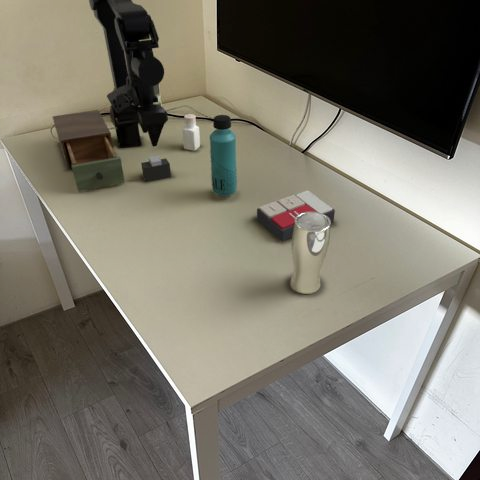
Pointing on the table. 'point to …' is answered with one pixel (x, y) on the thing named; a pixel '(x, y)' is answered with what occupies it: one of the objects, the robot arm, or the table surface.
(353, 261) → the table surface
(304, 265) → the beer glass
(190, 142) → the salt shaker
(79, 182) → the drawer
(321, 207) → the grey and red box
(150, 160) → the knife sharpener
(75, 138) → the cabinet
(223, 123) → the beverage bottle
